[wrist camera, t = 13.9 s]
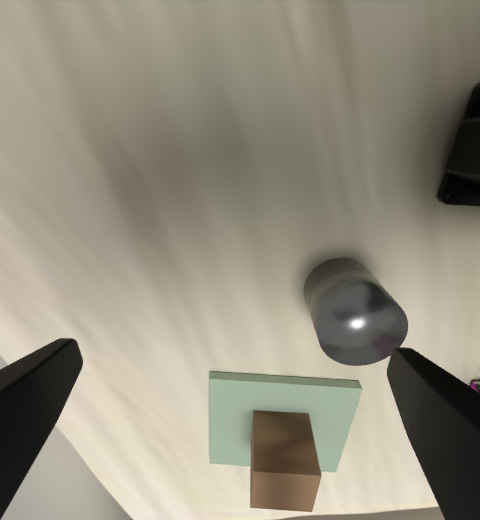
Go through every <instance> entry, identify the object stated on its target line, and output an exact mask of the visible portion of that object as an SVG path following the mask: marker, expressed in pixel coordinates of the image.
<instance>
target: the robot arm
mask: <svg viewBox="0 0 480 520" xmlns="http://www.w3.org/2000/svg"><path fill="white" fill-rule="evenodd" d="M450 192H451V195H450V197H449V198H447V199H446V196H447V194H448V193H450ZM438 200H439V201H440V202H442V203H444V204H450V205H469V206H480V83H479V84H478V85H477V86H476V87H475V89H474V91H473V93H472V96H471V99H470V102H469V105H468V108H467V111H466V114H465V117H464V120H463V122H462V123H461V124H460V127H459V130H458V133H457V136H456V139H455V142H454V145H453V148H452V151H451V154H450V157H449V160H448V163H447V166H446V173H445V176H444V179H443V182H442V185H441V188H440V191H439V194H438ZM82 366H83V359H82V356H81V352H80V349H79V346H78V343H77V341H76V340H75V339H72V338H60V339H57V340H55V341H54V342H52V343H50V344H48V345H46V346H44V347H42V348H40V349H38V350H36V351H35V352H33V353H31V354H29V355H27V356H25V357H23V358H21V359H19V360H17V361H16V362H14V363H12V364H10V365H8V366H6V367H4V368H2V369H0V519H1V518H2V516H3V514H4V513H5V511H6V509H7V508H8V506H9V504H10V502H11V501H12V499H13V497H14V495H15V494H16V492H17V490H18V488H19V487H20V485H21V483H22V482H23V480H24V478H25V476H26V475H27V473H28V471H29V469H30V468H31V466H32V464H33V462H34V461H35V459H36V457H37V456H38V454H39V452H40V450H41V449H42V447H43V445H44V443H45V441H46V440H47V438H48V436H49V435H50V433H51V431H52V429H53V427H54V426H55V424H56V422H57V420H58V418H59V416H60V414H61V412H62V410H63V408H64V406H65V404H66V401H67V399H68V397H69V395H70V393H71V391H72V388H73V386H74V384H75V382H76V380H77V378H78V375H79V373H80V371H81V369H82ZM387 377H388V381H389V384H390V386H391V389H392V392H393V395H394V398H395V401H396V404H397V407H398V410H399V413H400V416H401V419H402V422H403V425H404V428H405V430H406V433H407V436H408V438H409V440H410V443H411V445H412V447H413V450H414V452H415V454H416V456H417V458H418V461H419V463H420V465H421V467H422V469H423V472H424V474H425V476H426V478H427V481H428V483H429V485H430V487H431V489H432V492H433V494H434V496H435V498H436V501H437V503H438V505H439V507H440V509H441V512H442V513H443V516H444V518H445V520H480V393H479V392H478V391H476V390H475V389H473V388H471V387H470V386H468V385H467V384H465V383H464V382H462V381H461V380H459V379H458V378H456V377H455V376H453V375H452V374H450V373H449V372H447V371H445V370H444V369H442V368H441V367H439V366H438V365H436V364H435V363H433V362H432V361H430V360H429V359H427V358H426V357H424V356H423V355H421V354H419V353H418V352H416V351H415V350H413V349H411V348H404V347H396V348H394V349H393V351H392V354H391V357H390V361H389V364H388V368H387Z"/></svg>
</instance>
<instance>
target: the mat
mask: <svg viewBox="0 0 480 520" xmlns="http://www.w3.org/2000/svg"><path fill="white" fill-rule="evenodd" d="M361 391H362V387H361V385H360V382H359V381H351V380H335V379H320V378H304V377H288V376H273V375H257V374H241V373H226V372H210V378H209V417H210V463H211V464H225V465H239V466H251V434H252V421H253V410H261V411H278V412H294V413H309V417H310V422H311V427H312V432H313V437H314V441H315V446H316V451H317V456H318V461H319V466H320V471H324V472H336V470H337V467H338V464H339V461H340V458H341V454H342V451H343V448H344V445H345V442H346V439H347V435H348V432H349V429H350V426H351V423H352V420H353V416H354V413H355V410H356V407H357V404H358V401H359V397H360V394H361Z"/></svg>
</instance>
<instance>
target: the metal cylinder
mask: <svg viewBox="0 0 480 520" xmlns="http://www.w3.org/2000/svg"><path fill="white" fill-rule="evenodd" d="M304 296H305V300H306V303H307V306H308V309H309V312H310V315H311V319H312V322H313V325H314V328H315V331H316V334H317V337H318V340H319V343H320V346H321V348H322V350H323V351H324V352H325V354H326V355H327V356H329V357H330V358H331V359H333V360H335V361H337V362H339V363H342V364H346V365H353V366H361V365H368V364H372V363H376V362H378V361H381V360H383V359H385V358H387V357H388V356H390V355H391V354H392V351H393V349H394V348H396V347H400V346H401V344H402V343H403V341H404V340H405V337H406V335H407V331H408V320H407V317H406V315H405V313H404V311H403V310H402V308H401V307H400V306H399V305H398V304H397V303H396V301H395V300H394V299H393V298H392V297H391V296H390V294H389V293H388V292H387V291H386V290H385V289H384V288H383V286H382V285H381V284H380V283H379V282H378V281H377V279H376V278H375V277H374V276H373V275H372V274H371V273H370V271H369V270H368V269H367V268H366V267H365V266H364V265H363V264H361V263H359V262H357V261H355V260H352V259H345V258H340V259H333V260H330V261H327V262H325V263H323V264H321V265H319V266H318V267H316V268H315V269H314V270H313V271H312V272H311V273H310V275H309V276H308V278H307V280H306V282H305V286H304Z"/></svg>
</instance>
